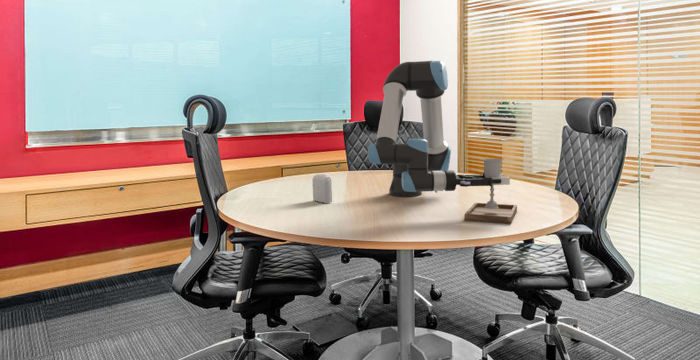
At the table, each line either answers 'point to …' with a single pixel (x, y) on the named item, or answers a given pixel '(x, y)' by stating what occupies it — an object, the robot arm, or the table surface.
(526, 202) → the table surface
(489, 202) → the chalice
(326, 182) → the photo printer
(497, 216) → the tray
